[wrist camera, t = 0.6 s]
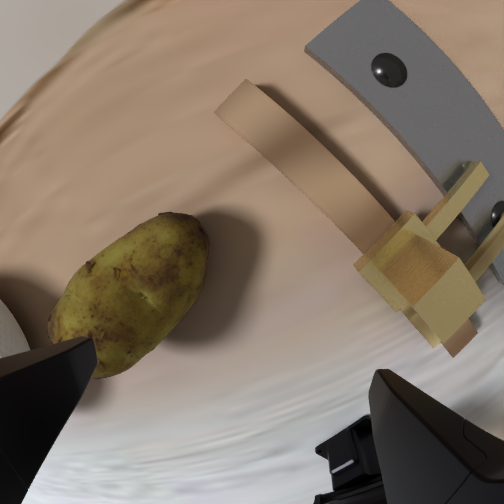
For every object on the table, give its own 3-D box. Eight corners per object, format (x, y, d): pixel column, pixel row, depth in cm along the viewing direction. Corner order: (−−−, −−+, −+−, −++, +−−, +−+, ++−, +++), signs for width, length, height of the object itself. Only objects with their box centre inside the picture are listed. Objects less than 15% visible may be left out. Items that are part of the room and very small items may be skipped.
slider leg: (490, 184, 17) (564, 196, 10) (387, 300, 20) (432, 363, 13) (462, 141, 17) (536, 135, 9) (351, 262, 20) (390, 315, 12)
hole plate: (543, 218, 19) (550, 220, 17) (498, 281, 20) (505, 285, 19) (371, -5, 16) (374, -11, 15) (304, 51, 18) (305, 45, 17)
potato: (249, 301, 23) (234, 363, 15) (117, 348, 25) (72, 403, 17) (198, 195, 21) (153, 209, 13) (70, 265, 23) (8, 300, 16)
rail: (523, 260, 20) (545, 271, 17) (440, 354, 22) (455, 375, 19) (324, 15, 17) (331, -7, 14) (211, 123, 20) (198, 115, 16)
